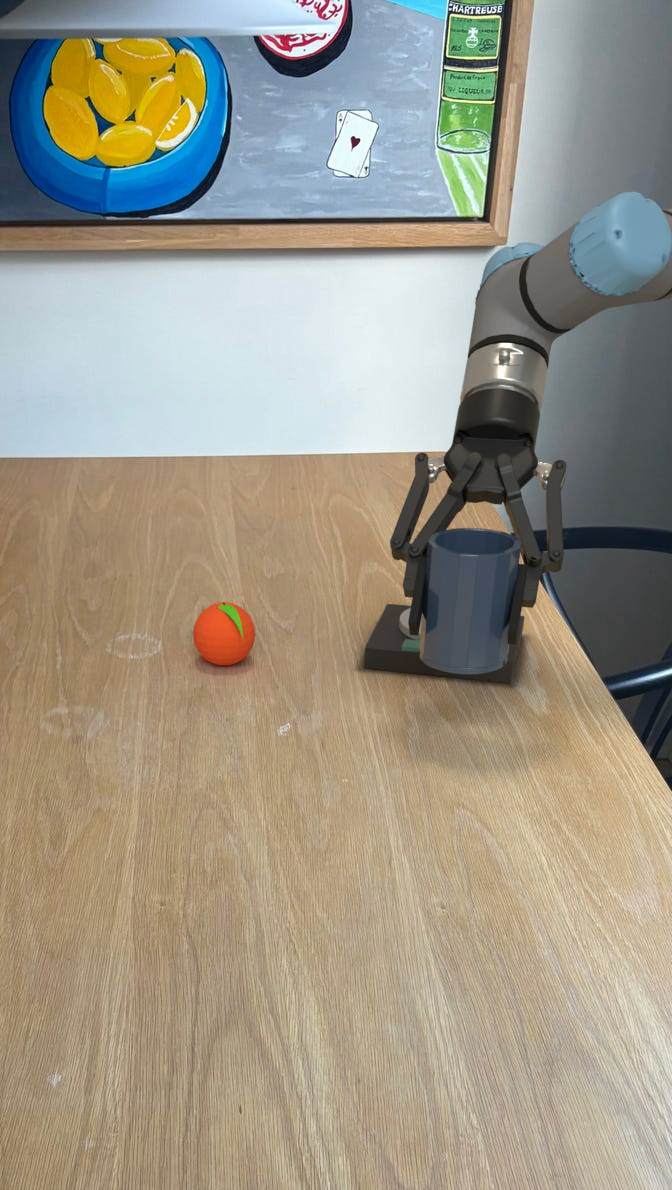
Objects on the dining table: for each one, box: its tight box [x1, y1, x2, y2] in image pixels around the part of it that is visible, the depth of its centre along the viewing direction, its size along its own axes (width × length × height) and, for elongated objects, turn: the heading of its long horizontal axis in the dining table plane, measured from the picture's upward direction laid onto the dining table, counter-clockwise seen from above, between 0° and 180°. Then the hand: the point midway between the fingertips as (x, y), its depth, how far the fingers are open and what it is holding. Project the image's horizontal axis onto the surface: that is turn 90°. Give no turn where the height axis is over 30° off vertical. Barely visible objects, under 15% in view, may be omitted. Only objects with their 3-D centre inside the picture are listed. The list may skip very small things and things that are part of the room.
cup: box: [419, 527, 521, 674], centre depth 111 cm, size 8×8×11 cm
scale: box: [363, 603, 525, 684], centre depth 139 cm, size 16×14×4 cm
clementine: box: [192, 601, 256, 666], centre depth 136 cm, size 8×7×7 cm
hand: (462, 633), depth 110 cm, fingers closed on cup, 8 cm apart
